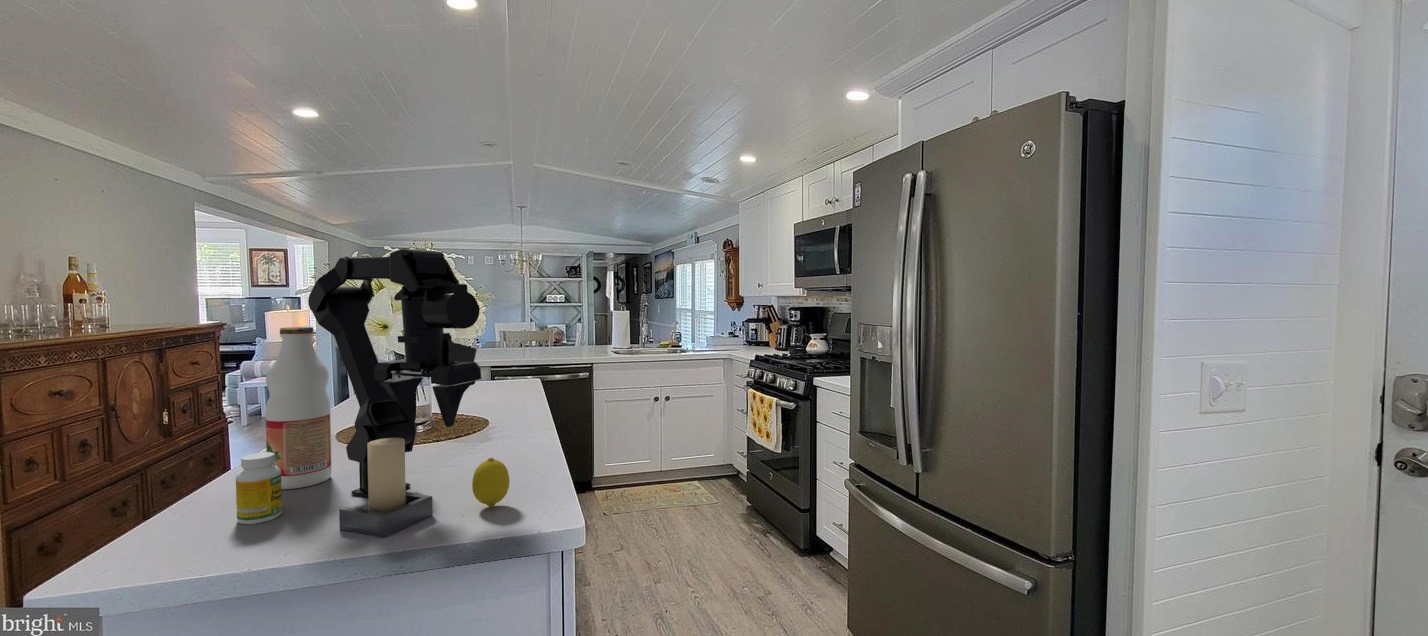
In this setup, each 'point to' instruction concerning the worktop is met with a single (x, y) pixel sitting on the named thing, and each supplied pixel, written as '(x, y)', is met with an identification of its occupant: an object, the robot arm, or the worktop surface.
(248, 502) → the supplement bottle
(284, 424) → the fruit juice
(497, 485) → the lemon
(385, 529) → the holder
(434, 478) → the worktop surface
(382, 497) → the paper roll
